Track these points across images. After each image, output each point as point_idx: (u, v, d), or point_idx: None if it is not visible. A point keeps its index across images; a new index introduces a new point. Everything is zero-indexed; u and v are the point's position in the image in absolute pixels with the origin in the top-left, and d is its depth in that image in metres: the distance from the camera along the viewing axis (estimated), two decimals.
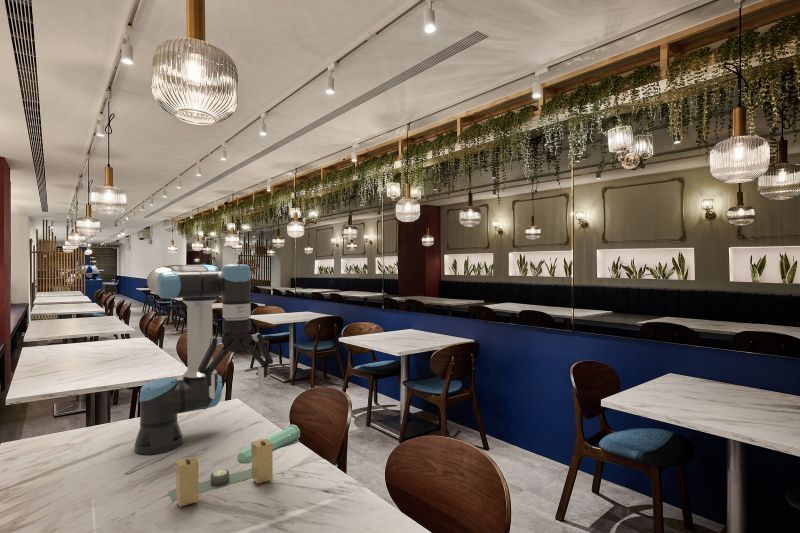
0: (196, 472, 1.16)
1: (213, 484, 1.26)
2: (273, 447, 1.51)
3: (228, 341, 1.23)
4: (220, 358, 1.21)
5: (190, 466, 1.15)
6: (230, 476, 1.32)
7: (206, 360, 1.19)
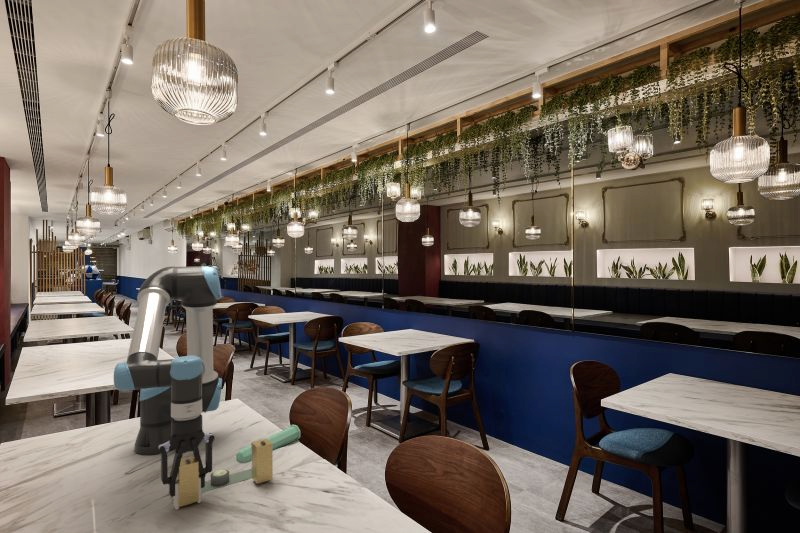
0: (196, 472, 1.16)
1: (213, 484, 1.26)
2: (272, 447, 1.51)
3: (177, 441, 1.14)
4: (177, 464, 1.14)
5: (190, 466, 1.15)
6: (230, 476, 1.32)
7: (164, 470, 1.12)
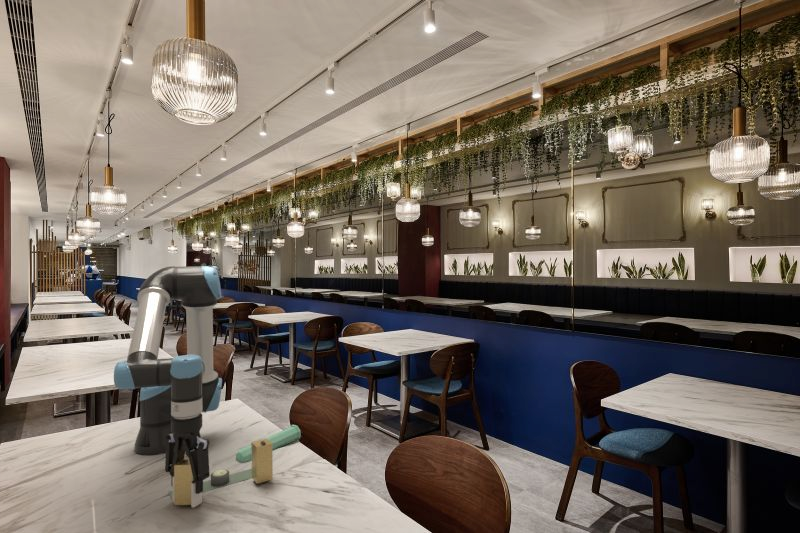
0: (190, 475, 1.15)
1: (213, 484, 1.26)
2: (272, 447, 1.51)
3: (176, 437, 1.17)
4: (175, 458, 1.17)
5: (184, 467, 1.15)
6: (230, 476, 1.32)
7: (166, 459, 1.18)
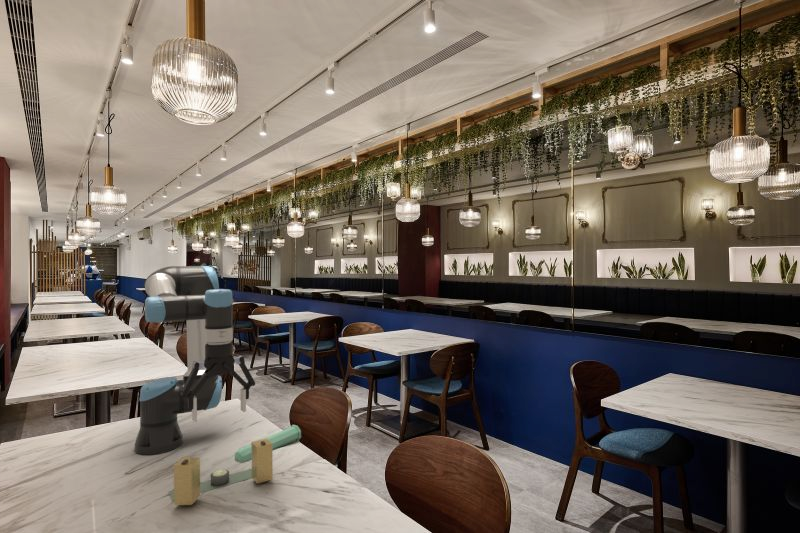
0: (189, 475, 1.14)
1: (213, 484, 1.26)
2: None
3: (210, 365, 1.26)
4: (202, 382, 1.24)
5: (183, 467, 1.15)
6: (230, 476, 1.32)
7: (188, 384, 1.22)
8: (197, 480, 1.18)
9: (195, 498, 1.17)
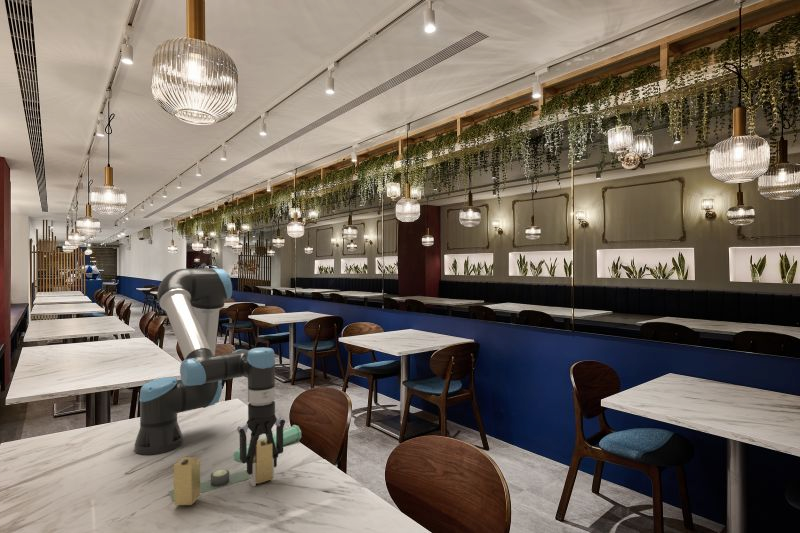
0: (189, 475, 1.14)
1: (213, 484, 1.26)
2: None
3: (254, 424, 1.26)
4: (254, 445, 1.26)
5: (183, 467, 1.15)
6: (230, 476, 1.32)
7: (243, 450, 1.24)
8: (197, 480, 1.18)
9: (195, 498, 1.17)
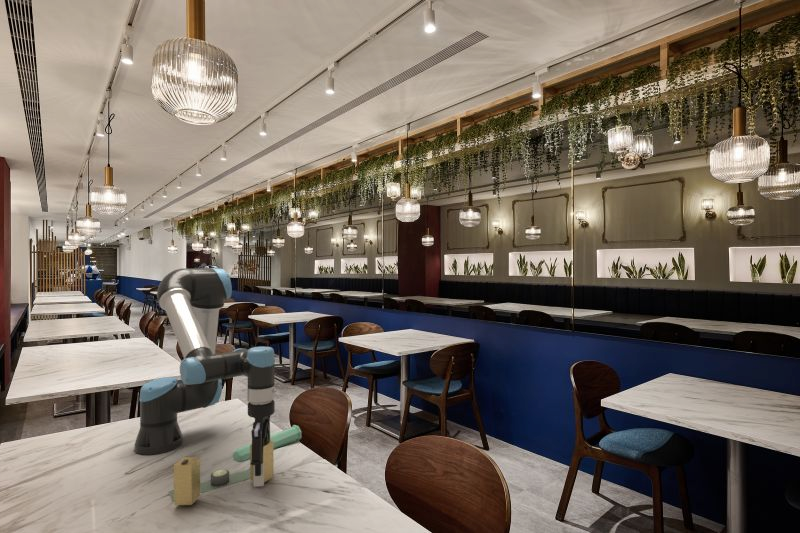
0: (189, 475, 1.14)
1: (213, 484, 1.26)
2: None
3: (263, 424, 1.26)
4: (263, 444, 1.26)
5: (183, 467, 1.15)
6: (230, 476, 1.32)
7: (260, 451, 1.23)
8: (197, 480, 1.18)
9: (195, 498, 1.17)
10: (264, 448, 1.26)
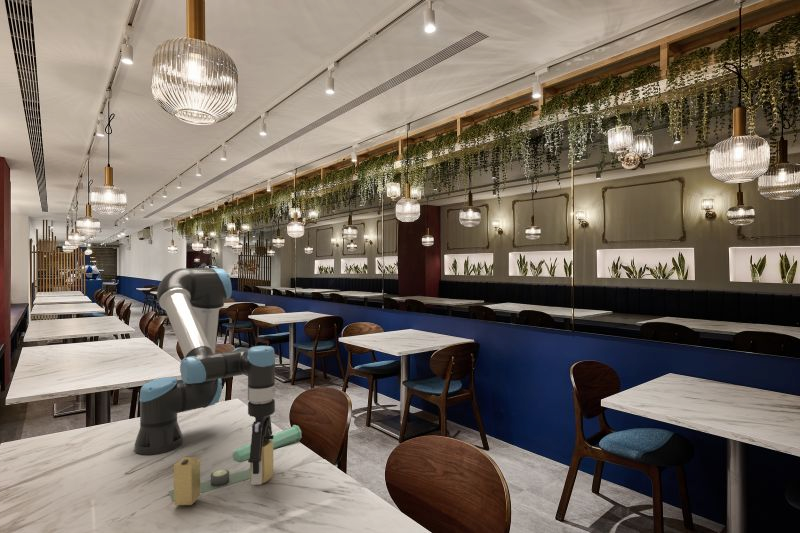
0: (189, 475, 1.14)
1: (213, 484, 1.26)
2: None
3: (263, 423, 1.26)
4: (262, 442, 1.24)
5: (183, 467, 1.15)
6: (230, 476, 1.32)
7: (259, 448, 1.21)
8: (197, 480, 1.18)
9: (195, 498, 1.17)
10: (265, 448, 1.26)
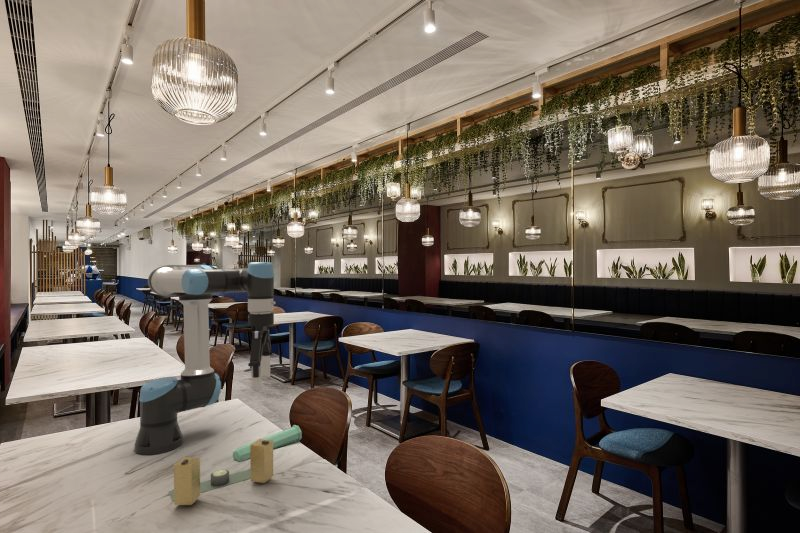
0: (189, 475, 1.14)
1: (213, 484, 1.26)
2: None
3: (263, 333, 1.32)
4: (262, 349, 1.30)
5: (183, 467, 1.15)
6: (230, 476, 1.32)
7: (259, 352, 1.26)
8: (197, 480, 1.18)
9: (195, 498, 1.17)
10: (265, 448, 1.26)
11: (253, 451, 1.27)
